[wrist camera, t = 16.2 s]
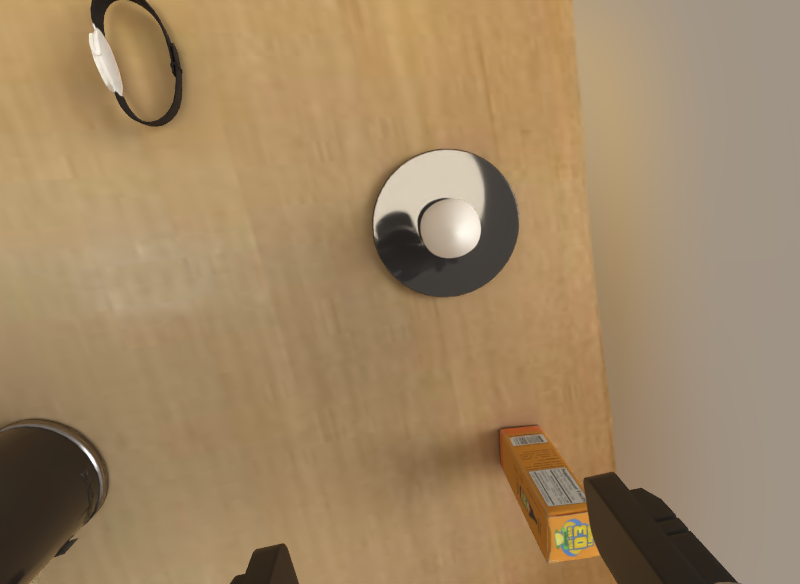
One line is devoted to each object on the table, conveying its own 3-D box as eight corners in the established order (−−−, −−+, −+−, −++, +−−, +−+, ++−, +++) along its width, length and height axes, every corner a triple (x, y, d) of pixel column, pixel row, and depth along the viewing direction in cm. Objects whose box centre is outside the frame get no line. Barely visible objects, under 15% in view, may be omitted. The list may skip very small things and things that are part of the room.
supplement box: (544, 460, 36) (602, 562, 26) (500, 464, 36) (541, 568, 26) (543, 422, 35) (602, 511, 25) (498, 426, 35) (540, 517, 25)
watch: (93, 7, 28) (51, -19, 25) (167, -9, 28) (135, -38, 25) (133, 135, 30) (98, 128, 26) (203, 121, 30) (177, 111, 26)
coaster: (366, 288, 32) (366, 289, 32) (380, 141, 30) (379, 140, 30) (505, 302, 33) (507, 304, 32) (528, 158, 31) (530, 157, 30)
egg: (479, 245, 31) (498, 256, 26) (426, 260, 31) (434, 274, 26) (467, 191, 31) (483, 191, 25) (412, 207, 31) (417, 210, 25)
